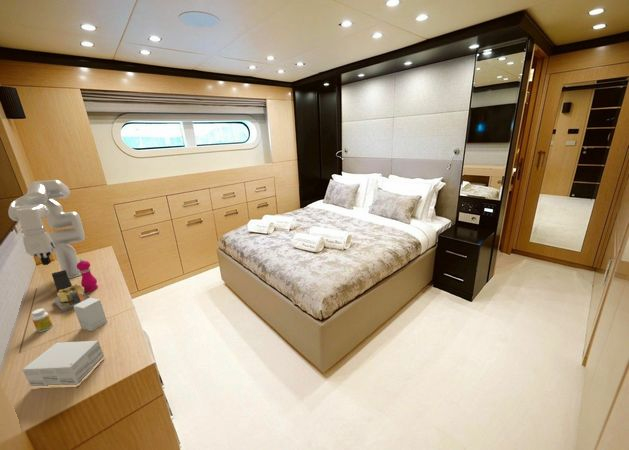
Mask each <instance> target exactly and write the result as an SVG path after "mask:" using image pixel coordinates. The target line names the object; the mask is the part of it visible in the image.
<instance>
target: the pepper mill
mask: <svg viewBox="0 0 629 450" xmlns="http://www.w3.org/2000/svg"><path fill="white" fill-rule="evenodd" d="M77 269H79V271H80V273H81V274H82V275H81V282H80V286H81V287H82V288H83V292H84V293H85V292H86V293H90V292H94V291H95V290H97V289H99V288H98V287H99V286H98V284H97V283H98V281H97V278H96V277H95V276H94V275H93V273H92V272H91V270H92V269H91V263H90V262H89V261H88V260H84V258H80V259H79V263H78V264H77Z"/></svg>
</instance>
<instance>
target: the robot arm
mask: <svg viewBox="0 0 629 450" xmlns="http://www.w3.org/2000/svg"><path fill="white" fill-rule="evenodd" d="M70 190H71V189H70V188H69V187H68V186H67V185H66V184H65V183H63V182H62V181H60V180H58V179H47V180H36V181H32V182H31V183H29V186H28V188H27V192H26V194H24V195H22V196H20V197H18V198H16V199H14V200H13V201H12V202H11V203H10V205H9V207H8V211H7V212H8V213H7V214H8V217H9V218H10V219H11V220H12V221H14V222H19V223H20V226H21V229H22V230H21V231H20V233H21V234H24V235H23V238H22V239H23V245H24V249H25V252H26V254H28V255H29V256H35V257H37V258H38V259H40V261H41V264H42V265H43V266H48V265H50V264H51V263H52V260H51V258H50V256H51V254H55V257H56V259H57V262H58V265H59V266H60V269H61V270H60V271H64V270H66V272H67V275H68V277H69V280H70V279H73V278H78V277H79V276H82V274H81V273H80V271H79V269H77V264H78V263H79V262H80V259H79V257H78V254H77V251H76V249H75V248H74V246H72V245H70V244H75V243H79V242H83V241H85V240H86V234H85V230H84V227H83V223H82V219H81V216H80V214H79V213H78V212H76V211H67V212H64V209H63V205H62V204H61V203H59V202H58V201H57V200H56V199H67V198H69V196H70V195H71V191H70ZM44 218H46V223H47V225H48V227H49V228H50V229H57V230H53V231H51V232H47V231H46V229H45V226H44V224H43V220H42V219H44ZM69 227H70V228H69ZM71 227H72V228H71ZM62 228H63V229H62ZM65 228H66V229H65ZM58 229H59V230H58Z"/></svg>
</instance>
